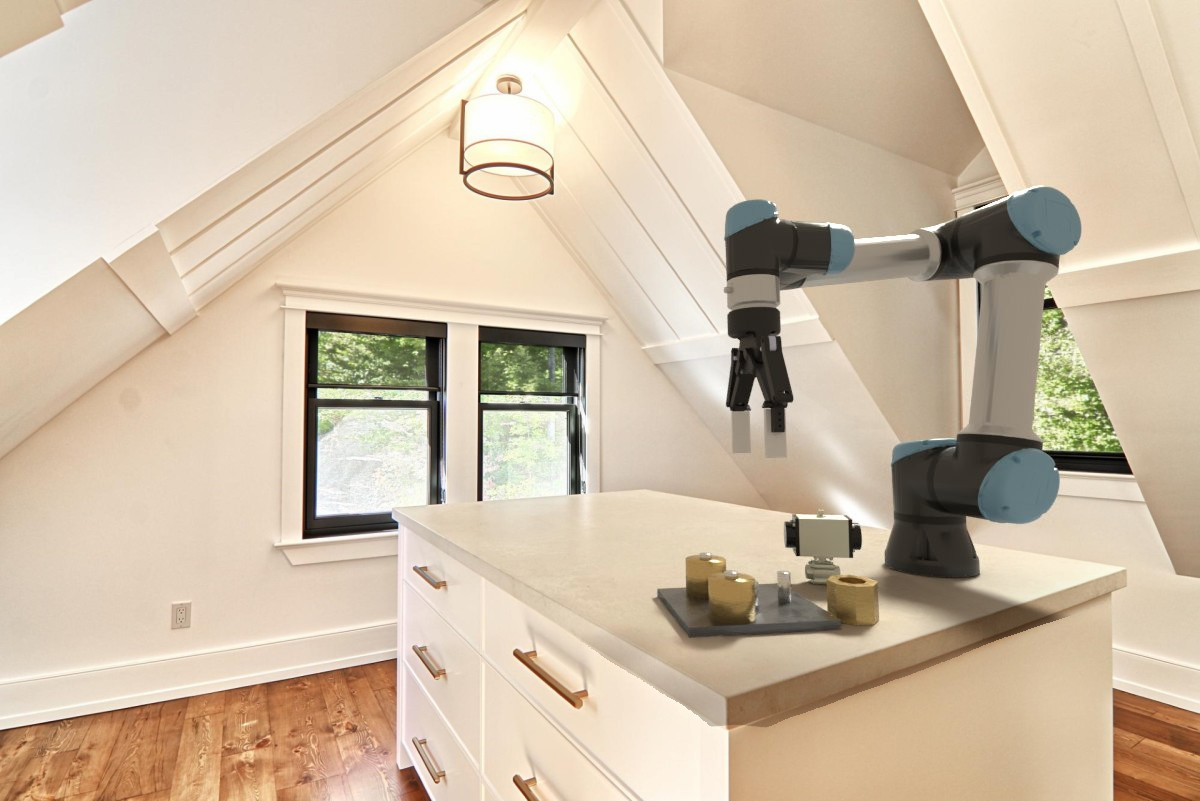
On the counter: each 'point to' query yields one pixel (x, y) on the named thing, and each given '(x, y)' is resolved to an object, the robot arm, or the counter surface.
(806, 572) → the pneumatic valve
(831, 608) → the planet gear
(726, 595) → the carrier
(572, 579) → the counter surface
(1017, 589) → the counter surface
